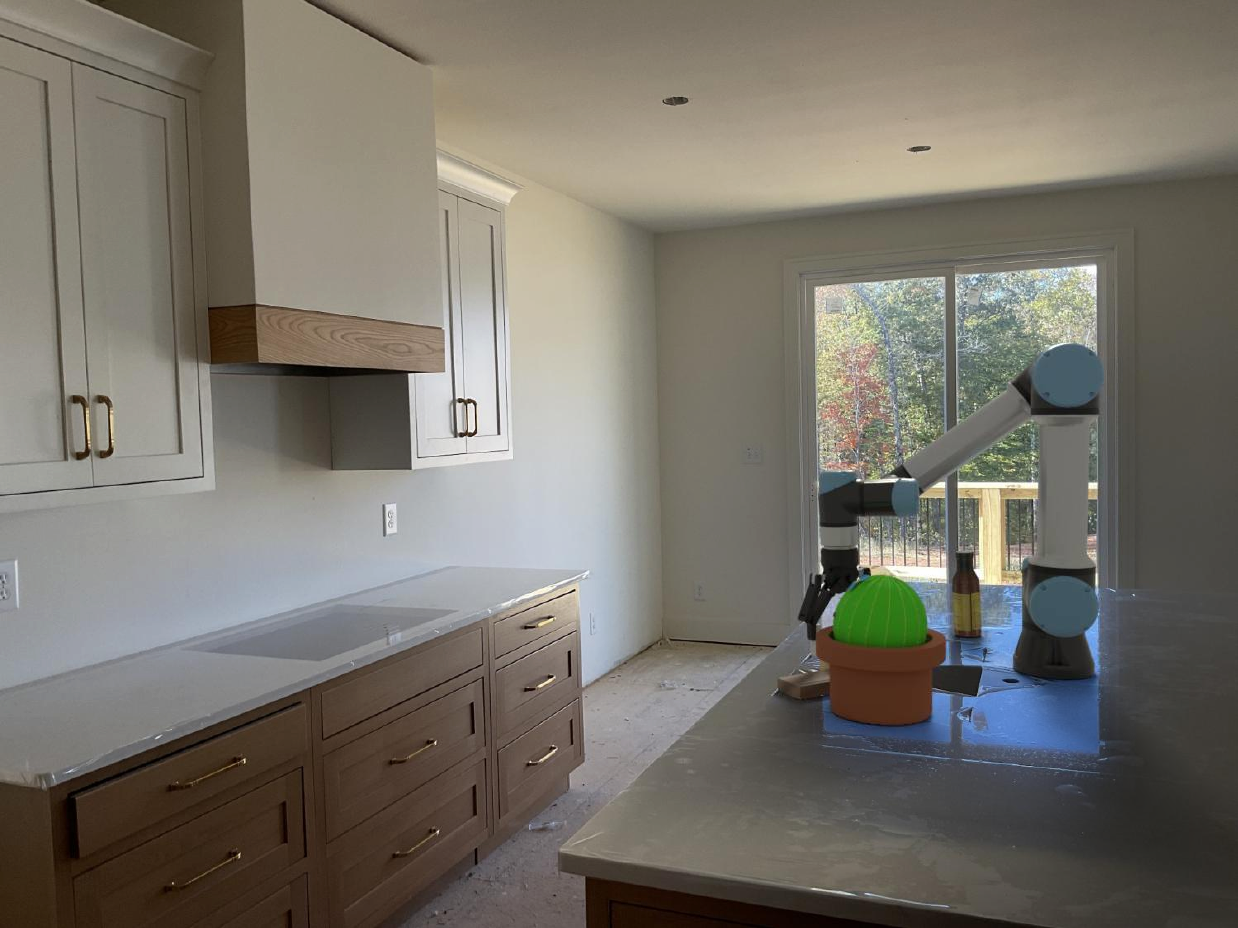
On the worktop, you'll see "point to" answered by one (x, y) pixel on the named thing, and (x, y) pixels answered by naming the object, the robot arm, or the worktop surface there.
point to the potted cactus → (881, 653)
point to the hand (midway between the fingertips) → (843, 651)
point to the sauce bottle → (966, 597)
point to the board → (806, 684)
